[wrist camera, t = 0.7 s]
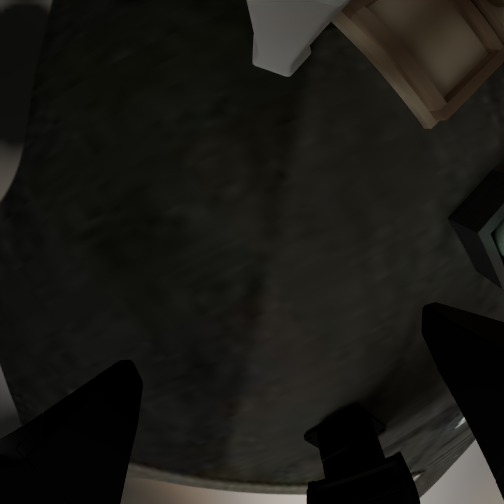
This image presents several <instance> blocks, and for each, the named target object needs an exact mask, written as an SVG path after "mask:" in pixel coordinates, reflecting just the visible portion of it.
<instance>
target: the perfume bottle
mask: <svg viewBox="0 0 504 504" xmlns="http://www.w3.org/2000/svg"><path fill="white" fill-rule="evenodd" d="M349 1H350V0H247V4H248V8H249V13H250V17H251V21H252V26H253V31H254V41H253V64H254V65H255V66H257V67H260V68H263V69H266V70H269V71H272V72H275V73H278V74H280V75H283V76H286V77H290V76H291V75H292V74H293V73H294V72H295V71H296V70H297V69H298V67H299V66H300V65H301V64H302V63H303V62H304V61H305V60H306V59H307V58H308V56H309V55H310V54H311V49H310V44H311V43H312V42H313V41H314V40H315V39H316V38H317V36H318V35H319V34H320V33H321V32H322V31H323V30H324V29H325V27H326V26H327V25H328V24H329V23H330V22H331V21H332V20H333V19H334V18H335V16H336V15H337V14H338V13H339V12H340V11H341V10H342V9H343V8H344V7H345V6H346V5H347V4H348V2H349Z"/></svg>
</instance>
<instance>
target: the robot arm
mask: <svg viewBox="0 0 504 504" xmlns="http://www.w3.org/2000/svg"><path fill="white" fill-rule="evenodd" d="M422 334H423V337H424V339H425V341H426V344H427V346H428V348H429V350H430V352H431V355H432V357H433V359H434V361H435V364H436V366H437V368H438V370H439V372H440V374H441V376H442V378H443V380H444V381H445V383H446V385H447V387H448V388H449V390H450V392H451V394H452V395H453V397H454V399H455V401H456V403H457V404H458V406H459V408H460V410H461V412H462V414H463V416H464V417H465V419H466V421H467V423H468V425H469V427H470V429H471V431H472V433H473V435H474V437H475V439H476V441H477V443H478V444H479V446H480V449H481V450H482V453H483V455H484V457H485V459H486V461H487V463H488V465H489V467H490V469H491V472H492V474H493V476H494V478H495V480H496V483H497V485H498V488H499V490H500V492H501V495H502V497H503V499H504V322H501V321H498V320H495V319H491V318H488V317H484V316H481V315H478V314H474V313H471V312H467V311H464V310H461V309H457V308H454V307H450V306H447V305H444V304H440V303H437V302H434V303H431V304H427V305H425V306H424V307H423V311H422ZM142 389H143V382H142V379H141V377H140V375H139V373H138V371H137V369H136V367H135V365H134V363H133V362H132V361H131V360H120V361H118V362H116V363H115V364H114V365H112V366H111V367H109V368H108V369H106V370H105V371H103V372H102V373H100V374H99V375H98V376H96V377H95V378H93V379H92V380H90V381H89V382H87V383H86V384H84V385H83V386H81V387H80V388H78V389H77V390H76V391H74V392H73V393H71V394H70V395H68V396H67V397H65V398H64V399H62V400H61V401H59V402H58V403H56V404H55V405H53V406H52V407H50V408H49V409H47V410H46V411H44V412H43V413H41V414H40V415H38V416H37V417H35V418H34V419H32V420H31V421H29V422H28V423H26V424H25V425H23V426H21V427H20V428H18V429H16V430H15V431H13V432H12V433H9V434H8V435H6V436H4V437H2V438H1V439H0V504H120V502H121V497H122V492H123V488H124V483H125V478H126V474H127V469H128V465H129V460H130V456H131V451H132V447H133V443H134V438H135V434H136V430H137V425H138V419H139V411H140V404H141V396H142ZM385 431H386V426H385V425H384V424H383V423H381V422H380V421H379V420H378V419H376V418H375V417H374V416H373V415H371V414H370V413H369V412H367V411H366V410H365V409H364V408H362V407H361V406H360V405H359V404H353V405H351V406H349V407H348V408H346V409H345V410H343V411H342V412H340V413H339V414H337V415H336V416H334V417H332V418H331V419H329V420H328V421H326V422H324V423H323V424H321V425H319V426H318V427H316V428H314V429H313V430H311V431H309V432H308V433H306V434H305V435H304V440H305V441H307V442H309V443H311V444H312V445H314V446H316V447H317V448H319V450H320V456H321V460H322V463H323V469H324V474H325V478H326V479H322V480H319V481H315V482H314V481H312V482H308V489H307V504H420V499H419V495H418V492H417V488H416V485H415V483H414V480H413V478H412V475H411V473H410V471H409V469H408V467H407V465H406V462H405V460H404V458H403V456H402V454H401V452H398V453H395V455H393V456H390V457H388V458H385V456H384V453H383V450H382V447H381V444H380V442H379V439H378V436H379V435H380V434H382V433H383V432H385Z"/></svg>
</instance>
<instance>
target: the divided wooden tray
mask: <svg viewBox="0 0 504 504" xmlns="http://www.w3.org/2000/svg"><path fill="white" fill-rule="evenodd" d="M331 22H332V23H333V24H334V25H335V26H336V27H337V28H338V29H339V30H340V31H341V32H342V33H343V34H344V35H345V36H346V37H347V38H348V39H349V40H350V41H351V42H352V43H353V44H354V45H355V46H356V47H357V48H358V49H359V50H360V51H361V52H362V53H363V54H364V55H365V56H366V57H367V58H368V60H369V61H370V62H371V63H372V64H373V65H374V66H375V67H376V68H377V70H378V71H379V72H380V73H381V74H382V75H383V76H384V78H385V79H386V80H387V81H388V82H389V84H390V85H391V86H392V87H393V88H394V90H395V91H396V92H397V93H398V95H399V96H400V97H401V98H402V100H403V101H404V102H405V103H406V105H407V106H408V107H409V109H410V110H411V111H412V113H413V114H414V115H415V117H416V118H417V119H418V121H419V122H420V123H421V125H422V126H423V128H424V129H432V128H433V127H434V126H435V125H436V124H437V123H438V122H439V121H440V120H448V119H449V118H450V117H451V116H452V115H453V114H454V113H455V112H456V111H457V110H458V109H459V108H460V107H461V106H462V105H463V104H464V103H465V102H466V101H467V99H468V98H469V97H470V96H471V95H472V94H473V93H474V92H475V91H476V90H477V89H478V88H479V87H480V86H481V85H482V84H483V83H484V82H485V81H486V80H487V79H488V78H489V77H490V76H491V75H492V74H493V73H494V72H495V70H496V69H497V68H498V67H499V66H500V65H501V64H502V63H503V62H504V7H496V6H494V5H493V4H491V3H490V2H488V1H487V0H351V1H349V2H348V4H347V5H346V6H345V7H344V8H343V9H342V10H341V11H340V12H339V13H338V14H337V15H336V16H335V18H334V19H333V20H332V21H331Z"/></svg>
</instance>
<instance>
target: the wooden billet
mask: <svg viewBox="0 0 504 504" xmlns="http://www.w3.org/2000/svg"><path fill="white" fill-rule="evenodd" d="M487 1H488V2H490V3H491V4H493V5H494V6H496V7H504V0H487Z"/></svg>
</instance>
